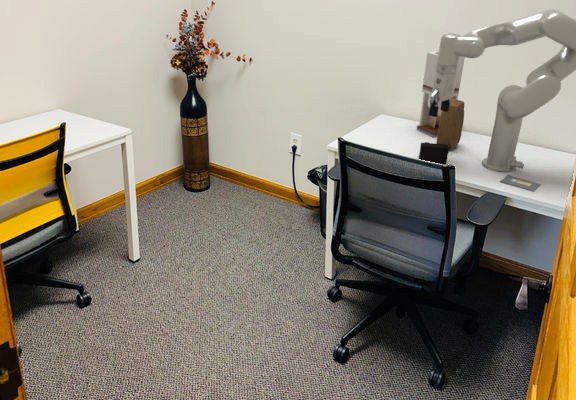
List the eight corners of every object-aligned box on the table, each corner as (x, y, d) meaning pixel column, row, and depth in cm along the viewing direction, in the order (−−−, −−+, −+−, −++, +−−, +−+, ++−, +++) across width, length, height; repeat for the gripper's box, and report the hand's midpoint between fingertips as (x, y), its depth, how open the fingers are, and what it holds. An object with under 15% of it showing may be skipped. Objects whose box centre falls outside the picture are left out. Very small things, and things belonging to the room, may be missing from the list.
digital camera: (444, 159, 218) (447, 143, 215) (446, 164, 213) (449, 147, 210) (418, 157, 219) (420, 141, 216) (419, 162, 214) (422, 146, 211)
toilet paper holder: (416, 129, 250) (427, 52, 235) (434, 126, 255) (446, 50, 239) (433, 137, 241) (445, 57, 226) (451, 134, 246) (465, 55, 230)
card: (540, 184, 198) (540, 183, 198) (533, 191, 193) (533, 190, 193) (507, 175, 205) (507, 174, 205) (500, 182, 200) (500, 180, 199)
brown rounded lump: (449, 152, 225) (457, 105, 216) (433, 148, 229) (440, 101, 221) (461, 146, 232) (469, 100, 224) (445, 141, 237) (453, 96, 228)
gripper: (445, 74, 193) (437, 120, 200) (465, 67, 205) (457, 111, 212) (426, 70, 197) (418, 115, 205) (447, 63, 209) (439, 107, 217)
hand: (438, 113), depth 209 cm, fingers open, 9 cm apart
